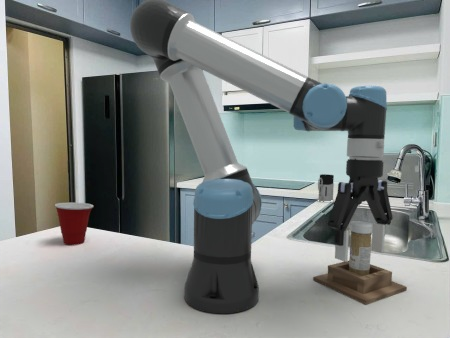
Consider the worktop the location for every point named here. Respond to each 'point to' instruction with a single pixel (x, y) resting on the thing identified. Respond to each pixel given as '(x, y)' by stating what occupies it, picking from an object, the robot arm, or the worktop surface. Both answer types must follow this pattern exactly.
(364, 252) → the sprinkles bottle
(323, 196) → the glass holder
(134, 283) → the worktop surface
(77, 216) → the plastic cup
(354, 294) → the walnut socket block
